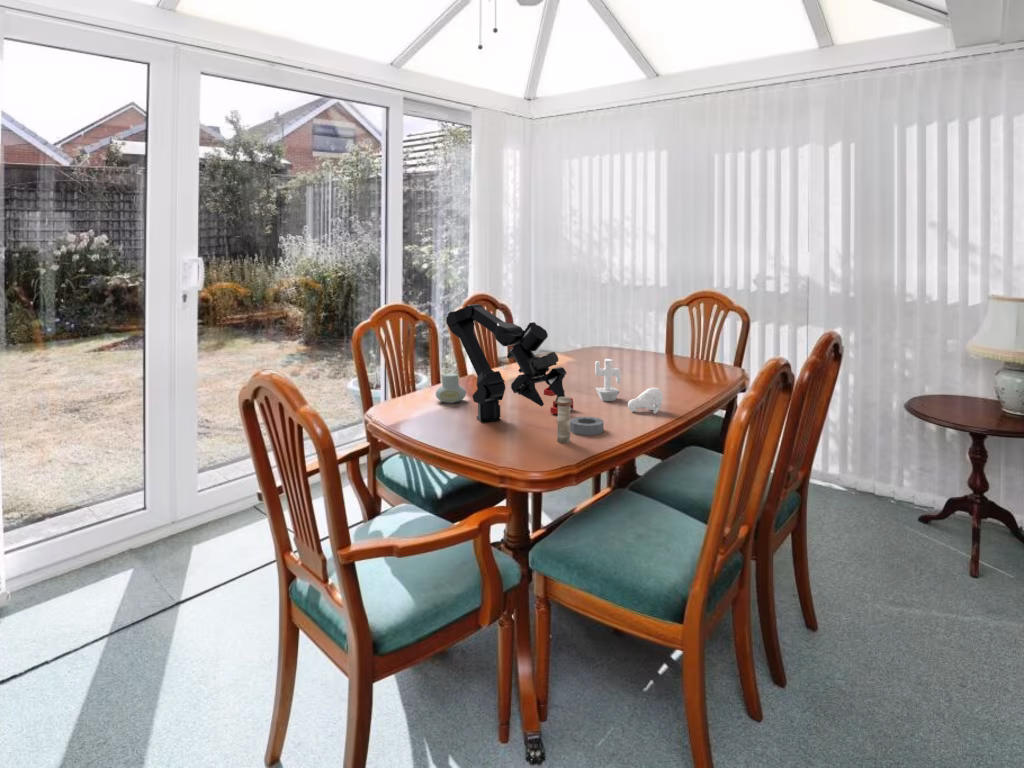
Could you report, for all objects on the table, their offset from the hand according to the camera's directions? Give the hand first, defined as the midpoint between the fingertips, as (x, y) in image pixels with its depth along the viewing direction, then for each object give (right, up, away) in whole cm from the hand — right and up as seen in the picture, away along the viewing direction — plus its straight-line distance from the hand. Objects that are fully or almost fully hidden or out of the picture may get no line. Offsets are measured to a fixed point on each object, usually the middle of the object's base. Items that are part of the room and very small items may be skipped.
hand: (553, 402), depth 187 cm
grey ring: (+11, -9, +10) cm, 17 cm away
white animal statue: (+33, -4, +32) cm, 46 cm away
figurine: (+23, 0, +49) cm, 54 cm away
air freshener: (-34, -1, +47) cm, 58 cm away
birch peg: (+3, -11, -1) cm, 12 cm away
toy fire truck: (+4, -5, +31) cm, 31 cm away
